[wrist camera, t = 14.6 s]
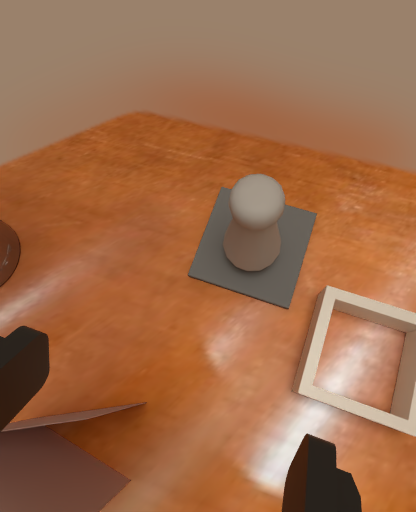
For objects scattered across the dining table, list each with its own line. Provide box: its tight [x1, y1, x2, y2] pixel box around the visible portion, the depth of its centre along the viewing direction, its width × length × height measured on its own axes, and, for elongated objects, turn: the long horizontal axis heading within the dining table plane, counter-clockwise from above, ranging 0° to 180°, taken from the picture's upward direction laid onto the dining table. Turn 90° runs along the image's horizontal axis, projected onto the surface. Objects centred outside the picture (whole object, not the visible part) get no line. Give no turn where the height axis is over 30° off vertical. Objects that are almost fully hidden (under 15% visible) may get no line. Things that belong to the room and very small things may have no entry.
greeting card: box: [0, 402, 147, 512], centre depth 29 cm, size 11×7×15 cm, turn 63°
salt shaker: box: [223, 174, 285, 271], centre depth 33 cm, size 6×6×13 cm
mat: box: [188, 187, 317, 309], centre depth 40 cm, size 11×11×1 cm
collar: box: [292, 285, 416, 437], centre depth 34 cm, size 10×10×4 cm
